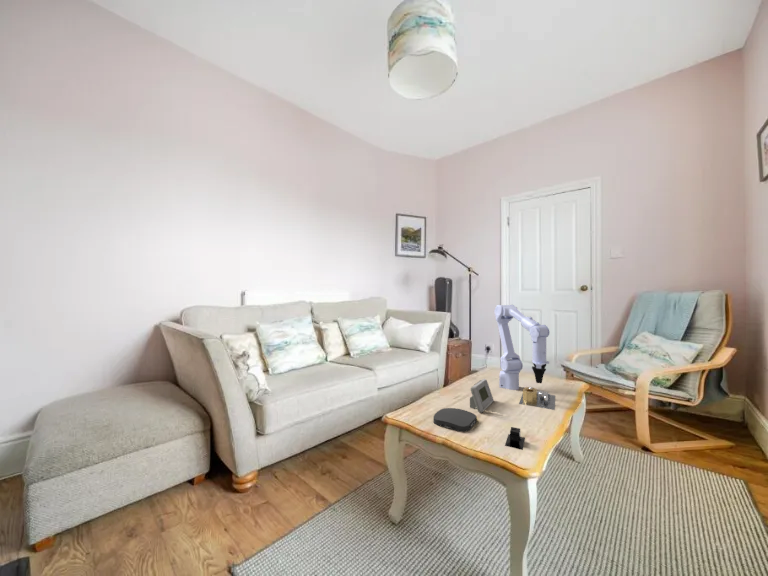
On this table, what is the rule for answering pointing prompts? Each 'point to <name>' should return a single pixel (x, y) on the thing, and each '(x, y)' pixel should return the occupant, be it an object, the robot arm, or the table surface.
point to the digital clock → (481, 396)
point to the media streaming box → (455, 419)
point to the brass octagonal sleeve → (530, 396)
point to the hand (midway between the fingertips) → (539, 380)
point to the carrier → (541, 400)
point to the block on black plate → (515, 439)
